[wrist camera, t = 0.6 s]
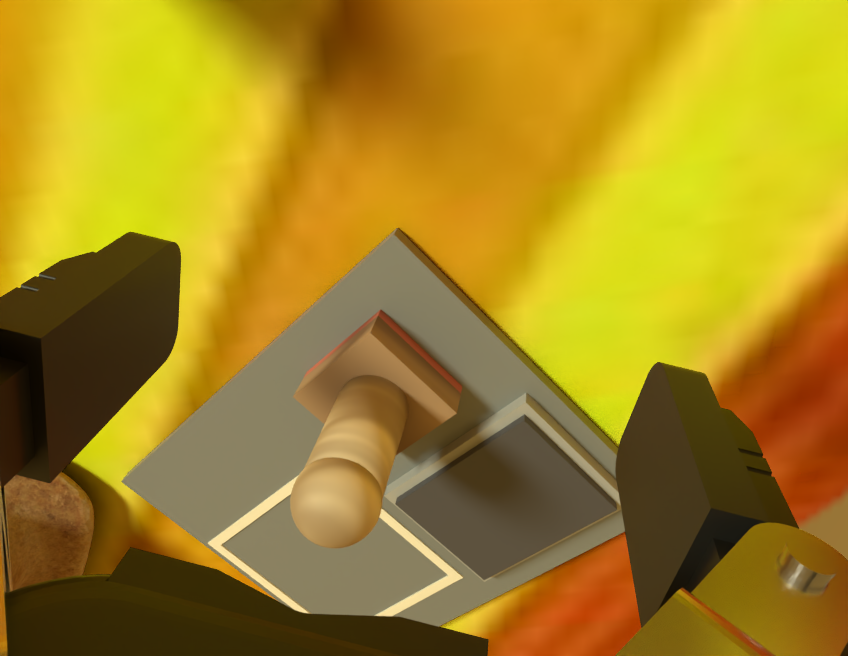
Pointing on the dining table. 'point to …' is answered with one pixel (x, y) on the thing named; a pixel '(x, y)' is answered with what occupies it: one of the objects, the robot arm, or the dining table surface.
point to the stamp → (365, 427)
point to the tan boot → (47, 529)
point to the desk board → (412, 469)
